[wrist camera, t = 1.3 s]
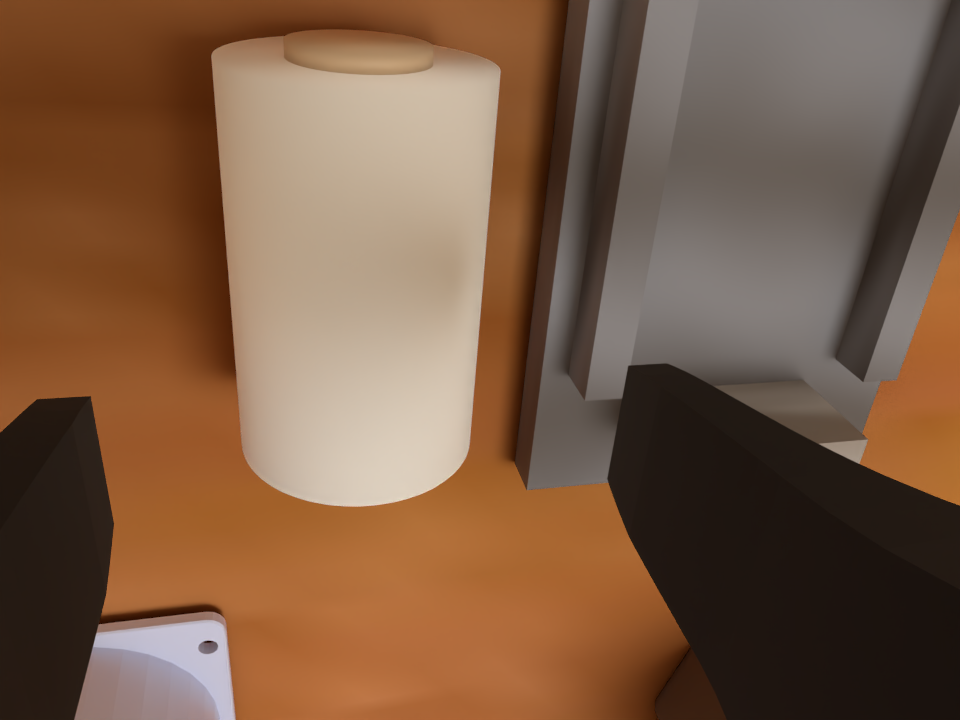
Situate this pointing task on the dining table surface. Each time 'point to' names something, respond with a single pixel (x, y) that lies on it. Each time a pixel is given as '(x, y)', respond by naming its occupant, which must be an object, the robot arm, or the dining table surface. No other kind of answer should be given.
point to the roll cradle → (739, 212)
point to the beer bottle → (688, 694)
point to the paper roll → (355, 255)
